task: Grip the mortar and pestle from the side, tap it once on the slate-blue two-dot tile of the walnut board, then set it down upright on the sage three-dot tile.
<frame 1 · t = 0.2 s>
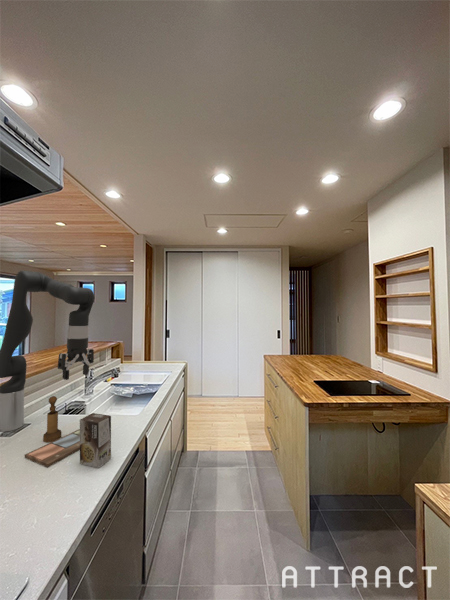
hand: (75, 376, 107), 29 cm above the worktop, tool pointing down, fingers open, 8 cm apart
tile board: (70, 444, 109), on the worktop
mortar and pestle: (52, 439, 114), on the worktop
coffee box: (95, 461, 98), on the worktop
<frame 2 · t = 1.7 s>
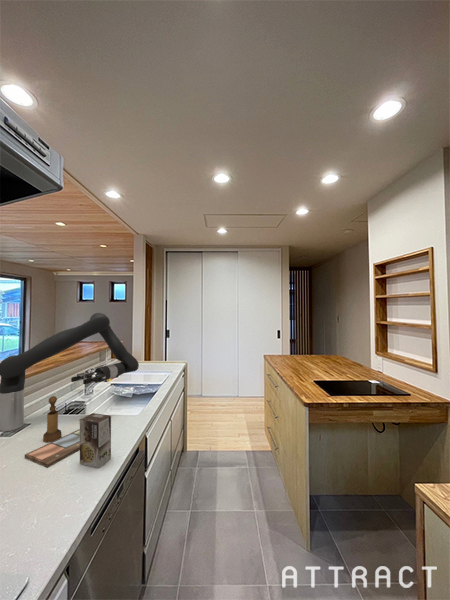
hand: (77, 381, 125), 22 cm above the worktop, tool horizontal, fingers open, 8 cm apart
nothing on the worktop moved.
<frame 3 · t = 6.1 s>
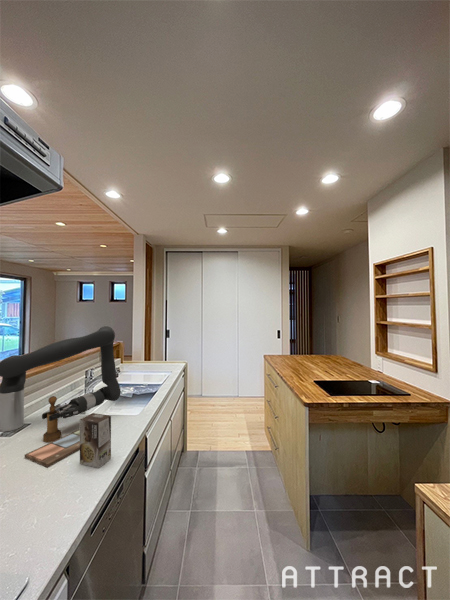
hand: (46, 417, 112), 10 cm above the worktop, tool horizontal, fingers closed on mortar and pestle, 4 cm apart
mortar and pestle: (52, 438, 114), on the worktop, touching gripper
everything else where it was.
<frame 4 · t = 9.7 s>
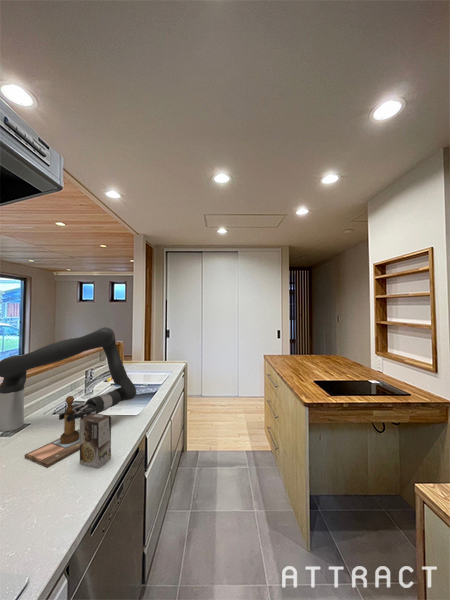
hand: (63, 418, 107), 12 cm above the worktop, tool horizontal, fingers closed on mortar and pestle, 4 cm apart
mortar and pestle: (69, 440, 110), point 1 cm above the worktop, touching gripper, tile board
everything else where it was.
when the fingers open (12 cm above the worktop, at t = 13.1 s): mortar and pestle stays where it is, resting on tile board.
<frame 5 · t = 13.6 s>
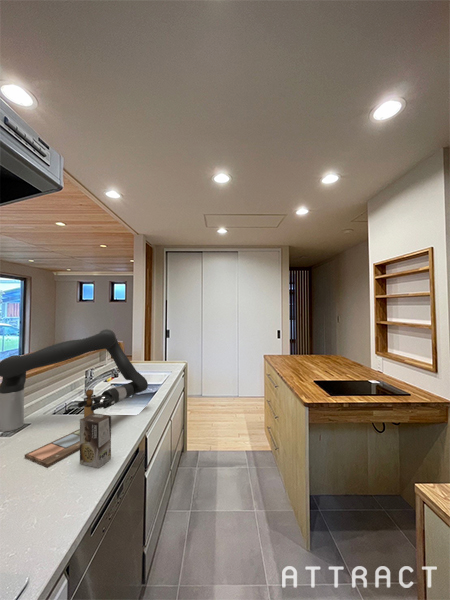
hand: (84, 407, 116), 13 cm above the worktop, tool horizontal, fingers open, 8 cm apart
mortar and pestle: (88, 430, 118), point 1 cm above the worktop, touching tile board
everything else where it was.
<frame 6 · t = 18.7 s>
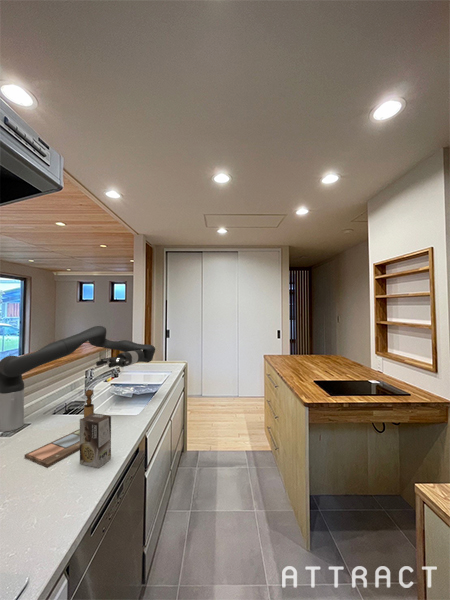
hand: (102, 364, 131), 28 cm above the worktop, tool horizontal, fingers open, 8 cm apart
nothing on the worktop moved.
at the end: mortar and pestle 0.1 cm from the target spot on the tile board, point 1.4 cm above the tile board's base; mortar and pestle tilted 0°; the gripper is holding nothing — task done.
